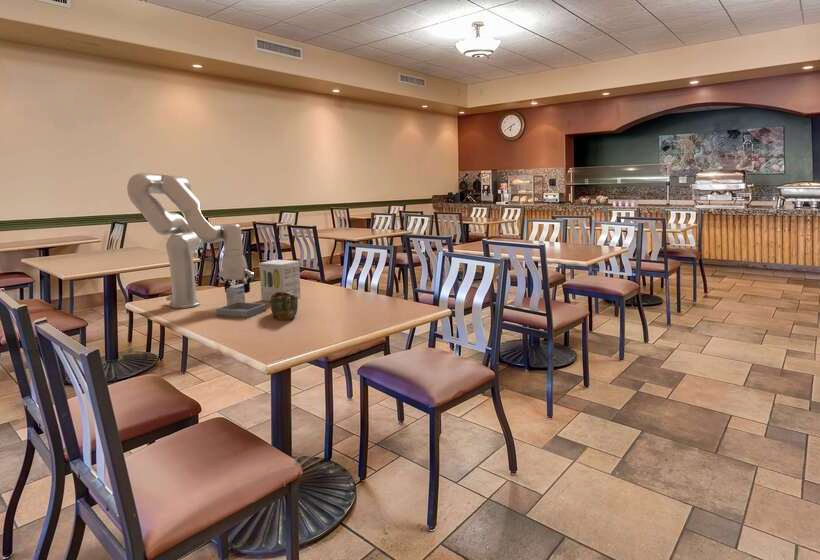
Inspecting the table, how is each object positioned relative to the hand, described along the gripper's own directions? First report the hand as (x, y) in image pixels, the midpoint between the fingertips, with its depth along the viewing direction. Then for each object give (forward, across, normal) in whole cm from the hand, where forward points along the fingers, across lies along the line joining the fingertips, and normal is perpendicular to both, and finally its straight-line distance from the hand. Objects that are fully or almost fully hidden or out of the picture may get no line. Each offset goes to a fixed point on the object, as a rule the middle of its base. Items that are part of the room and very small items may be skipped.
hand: (237, 292), depth 228 cm
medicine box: (+6, -1, 0) cm, 7 cm away
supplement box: (+7, +10, +19) cm, 22 cm away
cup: (+7, +29, -12) cm, 32 cm away
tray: (+6, +10, -12) cm, 17 cm away
